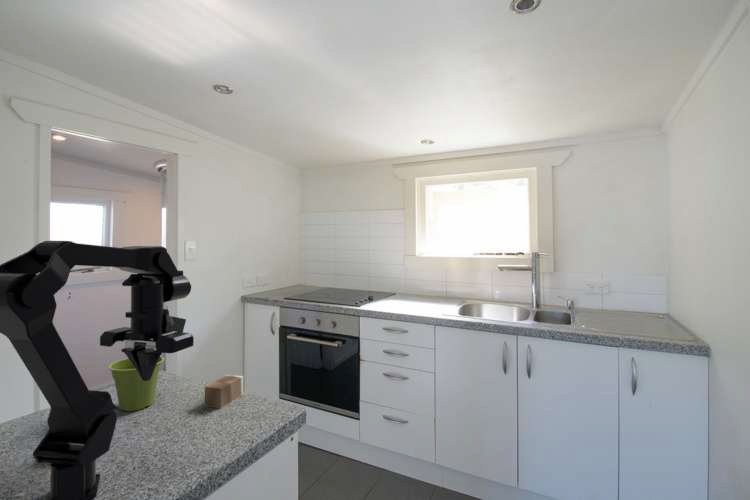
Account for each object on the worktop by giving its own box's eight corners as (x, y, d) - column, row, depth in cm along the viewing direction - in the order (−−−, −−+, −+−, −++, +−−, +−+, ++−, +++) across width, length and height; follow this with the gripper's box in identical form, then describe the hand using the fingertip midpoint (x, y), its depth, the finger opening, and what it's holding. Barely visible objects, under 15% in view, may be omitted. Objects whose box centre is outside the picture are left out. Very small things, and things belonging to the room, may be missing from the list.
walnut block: (221, 408, 89) (243, 394, 98) (221, 388, 89) (243, 376, 97) (204, 405, 90) (227, 391, 99) (204, 386, 90) (227, 374, 99)
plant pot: (156, 392, 98) (157, 352, 98) (169, 406, 90) (170, 362, 90) (103, 405, 89) (104, 361, 89) (112, 421, 81) (113, 373, 81)
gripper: (212, 302, 78) (211, 371, 78) (146, 298, 83) (145, 363, 83) (171, 311, 67) (171, 391, 68) (98, 305, 72) (97, 380, 72)
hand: (146, 380), depth 73 cm, fingers closed
